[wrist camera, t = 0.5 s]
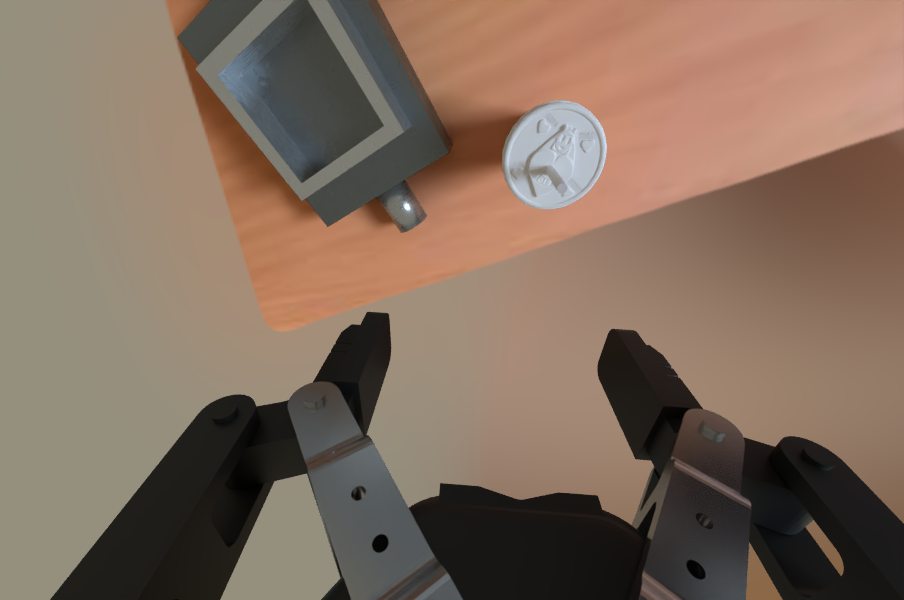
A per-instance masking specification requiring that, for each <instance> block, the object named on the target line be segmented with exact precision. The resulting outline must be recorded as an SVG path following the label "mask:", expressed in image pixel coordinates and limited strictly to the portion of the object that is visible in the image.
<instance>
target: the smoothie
mask: <svg viewBox="0 0 904 600" xmlns="http://www.w3.org/2000/svg"><path fill="white" fill-rule="evenodd" d="M606 151H607V145H606V137H605V134H604V131H603V128H602V126H601V124H600V122H599V121H598V120H597V118H596V117H595V116H594V115H593V114H592V113H591V112H590V111H589V110H587V109H586V108H584V107H583V106H581V105H580V104H578V103H574V102H570V101H566V100H559V101H549V102H546V103H543V104H540V105H538V106H535V107H534V108H532V109H531V110H529V111H528V112H527V113H525V114H524V115H523V116H522V117H521V118H520V119H519V120H518V121H517V122H516V123H515V125H514V126H513V127H512V129H511V131H510V133H509V134H508V136H507V138H506V141H505V144H504V148H503V152H502V169H503V173H504V177H505V180H506V182H507V184H508V186H509V188H510V190H511V191H512V193H513V194H514V195H515V196H516V197H517V198H518V199H519V200H520V201H522V202H523V203H525V204H527V205H529V206H531V207H534V208H538V209H556V208H561V207H564V206H567V205H569V204H571V203H573V202H575V201H577V200H578V199H580V198H581V197H582V196H584V195H585V194H586V193H587V192H588V191H589V190H590V189H591V188H592V186H593V185H594V184H595V182H596V181H597V179H598V178H599V176H600V174H601V172H602V169H603V166H604V163H605V159H606Z"/></svg>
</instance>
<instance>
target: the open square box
mask: <svg viewBox="0 0 904 600" xmlns="http://www.w3.org/2000/svg"><path fill="white" fill-rule="evenodd" d="M177 38H178V39H179V41H180V42H181V43H182V44H183V46H184V47H185V48H186V49H187V51H188V52H189V53H190V55H191V56H192V57H193V58H194V60H195V61H196V62H197V63H198V66H197V68H196V70H197V71H198V73H199V74H200V75H201V76H202V78H203V79H204V80H205V81H206V83H207V84H208V85H209V86H210V88H211V89H212V90H213V91H214V93H215V94H216V95H217V96H218V98H219V99H220V100H221V101H222V102H223V104H224V105H225V106H226V107H227V109H228V110H229V111H230V112H231V114H232V115H233V116H234V117H235V119H236V120H237V121H238V122H239V124H240V125H241V126H242V127H243V129H244V130H245V131H246V132H247V134H248V135H249V136H250V137H251V139H252V140H253V141H254V142H255V144H256V145H257V146H258V147H259V148H260V150H261V151H262V152H263V153H264V155H265V156H266V157H267V158H268V160H269V161H270V162H271V163H272V165H273V166H274V167H275V168H276V170H277V171H278V172H279V173H280V175H281V176H282V177H283V178H284V180H285V181H286V182H287V183H288V185H289V186H290V187H291V188H292V189H293V191H294V192H295V193H296V194H297V196H298V197H299V198H300V199H301V201H302V200H304V199H306V200H307V201H308V203H309V204H310V205H311V206H312V208H313V209H314V210H315V211H316V213H317V214H318V215H319V216H320V218H321V219H322V220H323V222H324V223H325V224H326V225H327V227H329V226H330V225H332V224H333V223H335V222H337V221H338V220H340V219H342V218H343V217H345V216H346V215H348V214H350V213H351V212H353V211H355V210H356V209H358V208H359V207H361V206H363V205H364V204H366V203H368V202H369V201H371V200H373V199H374V198H376V197H377V198H378V200H379V201H380V203H381V204H382V206H383V207H384V209H385V210H386V212H387V213H388V214H389V216H390V217H391V219H392V220H393V222H394V223H395V225H396V226H397V228H398V229H399V231H400V232H401V233H403V232H406V231H409V230H411V229H412V228H414V227H416V226H417V225H418V224H420V223H421V222H422V221H423V220H424V219H425V218H426V217H427V214H426V213H425V211H424V210H423V208H422V207H421V205H420V203H419V202H418V200H417V199H416V197H415V195H414V194H413V192H412V191H411V189H410V187H409V186H408V184H407V183H406V181H405V179H407V178H408V177H410V176H412V175H413V174H415V173H417V172H418V171H420V170H421V169H423V168H425V167H426V166H428V165H430V164H431V163H433V162H434V161H436V160H438V159H439V158H441V157H443V156H444V155H446V154H447V153H449V151H450V149H451V147H452V145H453V143H452V141H451V139H450V137H449V136H448V134H447V132H446V130H445V128H444V126H443V124H442V122H441V120H440V119H439V117H438V115H437V113H436V111H435V109H434V107H433V105H432V103H431V101H430V100H429V98H428V96H427V94H426V92H425V90H424V88H423V86H422V84H421V83H420V81H419V79H418V77H417V75H416V73H415V71H414V69H413V67H412V65H411V64H410V62H409V60H408V58H407V56H406V54H405V52H404V50H403V48H402V46H401V45H400V43H399V41H398V39H397V37H396V35H395V33H394V31H393V29H392V28H391V26H390V24H389V22H388V20H387V18H386V16H385V14H384V12H383V10H382V9H381V7H380V5H379V3H378V1H377V0H211V1H210V2H209V3H208V4H207V5H206V6H205V8H204V9H203V10H202V11H201V12H200V13H199V14H198V15H197V16H196V18H195V19H194V20H193V21H192V22H191V23H190V24H189V25H188V26H187V28H186V29H185V30H184V31H183V32H182V33H181V34H180V35H179V36H178V37H177Z"/></svg>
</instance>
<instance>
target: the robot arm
mask: <svg viewBox="0 0 904 600" xmlns="http://www.w3.org/2000/svg"><path fill="white" fill-rule="evenodd" d="M390 356H391V337H390V321H389V314H388V313H377V312H367V313H366V315H365V317H364V319H363V321H362V323H361V325H351V326H349V327H348V328H347V329H345V330H344V331H343V332H341V334H340V336H339V337H338V339H337V341H336V344H335V345H334V346H333V348H332V350H331V353H329V355H328V357H327V359H326V360H325V362H324V364H323V366H322V367H321V369H320V371H319V373H318V374H317V376H316V378H315V380H314V381H313V383H310V384H307V385H305V386H303V387H301V388H300V389H298V390H297V391H296V392H295V393H293V395H292V396H291V397H290V399H289V400H288V401H284V402H279V403H274V404H268V405H263V406H257V407H256V404H255V402H254V400H253V399H252V398H251V397H249V396H246V395H230V396H226V397H223V398H221V399H218V400H216V401H214V402H212V403H210V404H209V405H207V406H206V407H205V408H204V409H203V410H201V412H200V413H199V414H198V415H197V416H196V418H195V419H194V420H193V422H191V424H190V425H189V426H188V427H187V429H186V430H185V431H184V433H183V434H182V435H181V436H180V438H179V439H178V440H177V441H176V443H175V444H174V445H173V446H172V448H171V449H170V450H169V451H168V453H167V454H166V455H165V456H164V458H163V459H162V460H161V461H160V463H159V464H158V465H157V466H156V468H155V469H154V470H153V471H152V473H151V474H150V475H149V476H148V478H147V479H146V480H145V482H144V483H143V484H142V485H141V486H140V488H139V489H138V490H137V492H136V493H135V494H134V495H133V496H132V498H131V499H130V500H129V502H128V503H127V504H126V505H125V507H124V508H123V509H122V510H121V512H120V513H119V514H118V515H117V517H116V518H115V519H114V520H113V522H112V523H111V524H110V525H109V527H108V528H107V529H106V530H105V532H104V533H103V534H102V535H101V537H100V538H99V539H98V540H97V542H96V543H95V544H94V546H93V547H92V548H91V549H90V550H89V552H88V553H87V554H86V555H85V557H84V558H83V559H82V560H81V562H80V563H79V564H78V565H77V567H76V568H75V569H74V570H73V572H72V573H71V574H70V576H69V577H68V578H67V579H66V581H65V582H64V583H63V584H62V586H61V587H60V588H59V590H58V591H57V592H56V593H55V594H54V596H53V597H52V598H51V600H220V599H221V596H222V594H223V592H224V590H225V588H226V586H227V583H228V581H229V579H230V577H231V575H232V572H233V570H234V568H235V566H236V564H237V562H238V559H239V557H240V555H241V553H242V551H243V548H244V546H245V544H246V542H247V540H248V537H249V535H250V533H251V531H252V529H253V526H254V524H255V522H256V520H257V518H258V516H259V513H260V511H261V509H262V507H263V504H264V503H265V500H266V498H267V496H268V494H269V492H270V489H271V487H272V485H273V483H274V481H277V480H281V479H285V478H289V477H294V476H298V475H302V474H306V473H307V475H308V478H309V481H310V484H311V488H312V491H313V494H314V497H315V500H316V503H317V506H318V509H319V512H320V515H321V518H322V521H323V524H324V528H325V531H326V534H327V537H328V541H329V544H330V547H331V550H332V553H333V557H334V560H335V562H336V566H337V569H338V572H339V575H340V580H339V581H338V582H337V583H336V584H335V585H334V586H333V587H332V588H331V589H330V591H329V592H328V593H327V594H326V595H325V596H324V597H323V598H322V599H321V600H746V588H747V571H748V554H749V542H750V544H751V545H752V547H753V549H754V550H755V552H756V554H757V556H758V557H759V559H760V561H761V563H762V564H763V566H764V568H765V570H766V571H767V573H768V575H769V577H770V578H771V580H772V581H773V584H774V585H775V587H776V589H777V590H778V592H779V594H780V596H781V597H782V599H783V600H904V524H903V523H902V521H901V520H899V518H898V517H897V516H896V515H895V514H894V513H893V512H892V511H891V510H890V509H889V508H888V507H887V506H886V505H885V504H884V503H883V502H882V501H881V500H880V499H879V498H878V497H877V496H876V495H875V494H874V492H873V491H872V490H871V489H870V488H869V487H868V486H867V485H866V484H865V483H864V482H863V481H862V480H861V479H860V478H859V477H858V476H857V475H856V474H855V473H854V472H853V471H852V470H851V469H850V468H849V467H848V466H847V465H846V464H845V463H844V462H843V461H842V460H841V459H840V458H839V457H837V456H836V455H835V454H834V453H832V452H831V451H829V450H828V449H826V448H824V447H823V446H821V445H819V444H817V443H814V442H812V441H810V440H807V439H804V438H800V437H794V436H789V437H784V438H783V439H782V440H781V441H780V442H779V443H778V444H777V446H776V447H774V446H770V445H767V444H764V443H760V442H757V441H754V440H750V439H747V438H744V437H743V435H742V433H741V432H740V431H739V430H738V429H737V427H736V426H735V425H733V424H732V423H731V422H730V421H728V420H727V419H725V418H724V417H722V416H720V415H718V414H716V413H714V412H711V411H708V410H704V409H703V408H702V407H701V406H700V404H699V403H698V401H697V400H696V399H695V398H694V396H693V395H692V394H691V392H690V391H689V390H688V388H687V387H686V385H685V384H684V383H683V381H682V380H681V379H680V378H678V375H677V373H676V372H675V371H674V369H671V365H670V364H669V363H668V362H667V360H666V359H665V357H664V356H663V355H662V354H661V353H659V352H658V351H657V350H655V349H654V348H652V347H651V346H650V345H646V344H645V343H644V341H643V340H642V339H641V337H640V336H639V334H638V333H637V332H636V331H634V330H621V329H611V330H610V331H609V333H608V336H607V339H606V342H605V344H604V347H603V350H602V353H601V356H600V359H599V362H598V377H599V380H600V382H601V384H602V386H603V389H604V391H605V393H606V395H607V397H608V399H609V402H610V404H611V406H612V408H613V411H614V413H615V415H616V417H617V419H618V422H619V424H620V426H621V428H622V430H623V432H624V435H625V437H626V439H627V441H628V443H629V446H630V448H631V450H632V452H633V455H634V457H635V459H640V460H651V461H652V463H653V465H654V468H653V469H652V471H651V473H650V476H649V478H648V481H647V484H646V487H645V490H644V493H643V495H642V498H641V501H640V504H639V507H638V510H637V513H636V515H635V518H634V520H633V523H632V525H630V524H629V523H627V522H626V521H624V520H622V519H621V518H619V517H617V516H615V515H613V514H611V513H609V512H606V511H604V510H602V508H601V505H600V501H599V498H598V496H596V495H583V494H570V493H554V494H549V495H545V496H539V497H534V498H529V499H525V500H518V499H514V498H511V497H509V496H506V495H503V494H500V493H497V492H494V491H491V490H488V489H485V488H482V487H479V486H468V485H456V484H455V485H454V484H443V483H441V484H440V493H439V496H435V497H431V498H428V499H425V500H422V501H420V502H418V503H416V504H414V505H412V506H411V507H409V508H408V506H407V504H406V503H405V501H404V499H403V497H402V495H401V493H400V491H399V490H398V488H397V486H396V484H395V482H394V480H393V478H392V477H391V475H390V473H389V471H388V469H387V467H386V465H385V463H384V462H383V460H382V458H381V456H380V454H379V452H378V450H377V448H376V447H375V445H374V443H373V441H372V440H371V438H370V437H369V436H368V435H366V434H367V431H368V428H369V425H370V422H371V419H372V416H373V413H374V409H375V406H376V403H377V400H378V397H379V394H380V391H381V387H382V384H383V381H384V378H385V375H386V372H387V369H388V365H389V362H390ZM813 520H814V521H815V522H816V523H817V525H818V526H819V527H820V528H821V530H822V531H823V532H824V533H825V535H826V536H827V538H828V539H829V540H830V542H831V543H832V544H833V546H834V547H835V548H836V549H837V551H838V552H839V554H840V556H841V558H842V561H843V565H844V572H843V575H842V576H840V574H839V573H838V572H837V570H836V569H835V568H834V566H833V565H832V563H831V562H830V561H829V559H828V558H827V557H826V555H825V554H824V552H823V551H822V549H821V548H820V547H819V545H818V544H817V543H816V541H815V540H814V539H813V537H812V536H811V534H810V533H809V532H808V530H807V529H806V526H807V525H808V524H809V523H810V522H812V521H813Z"/></svg>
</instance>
